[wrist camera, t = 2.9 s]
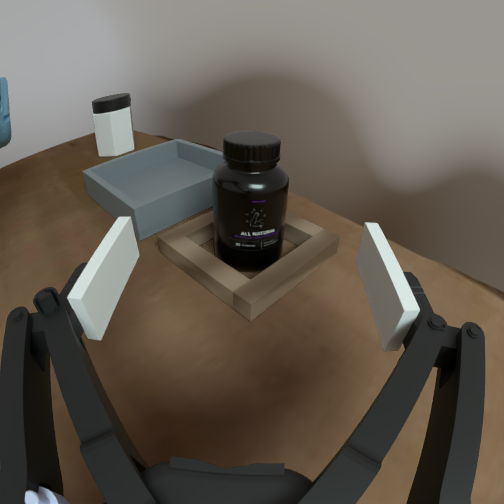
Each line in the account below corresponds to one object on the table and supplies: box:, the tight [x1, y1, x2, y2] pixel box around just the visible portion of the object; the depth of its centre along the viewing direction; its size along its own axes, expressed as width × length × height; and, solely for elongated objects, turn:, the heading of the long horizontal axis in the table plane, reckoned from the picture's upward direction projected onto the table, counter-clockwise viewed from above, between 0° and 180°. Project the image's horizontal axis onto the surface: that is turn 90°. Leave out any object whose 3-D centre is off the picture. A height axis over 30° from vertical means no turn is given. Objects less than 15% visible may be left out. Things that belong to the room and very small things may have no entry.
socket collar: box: [158, 210, 340, 322], centre depth 32 cm, size 13×13×2 cm
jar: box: [92, 93, 135, 157], centre depth 57 cm, size 9×8×12 cm
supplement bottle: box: [212, 131, 289, 272], centre depth 29 cm, size 7×7×12 cm
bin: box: [83, 139, 225, 241], centre depth 42 cm, size 18×18×4 cm
